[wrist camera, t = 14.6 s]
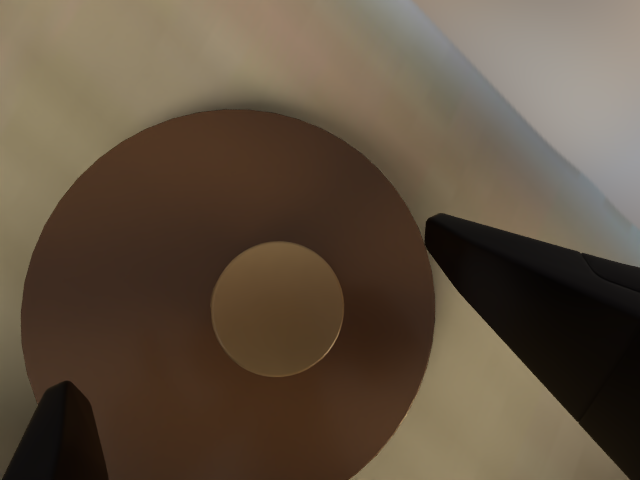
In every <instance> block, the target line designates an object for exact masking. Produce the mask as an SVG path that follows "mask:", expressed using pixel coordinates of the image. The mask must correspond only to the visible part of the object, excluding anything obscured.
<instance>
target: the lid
mask: <svg viewBox="0 0 640 480" xmlns="http://www.w3.org/2000/svg"><path fill="white" fill-rule="evenodd" d="M434 323H435V294H434V286H433V278H432V271H431V267H430V263H429V259H428V255H427V251H426V247H425V245H424V242H423V239H422V237H421V234H420V231H419V229H418V226H417V224H416V222H415V221H414V219H413V217H412V215H411V213H410V211H409V209H408V207H407V205H406V204H405V202H404V201H403V199H402V198H401V196H400V195H399V194H398V192H397V191H396V189H395V188H394V186H393V185H392V184H391V183H390V182H389V181H388V179H387V178H386V177H385V176H384V175H383V174H382V172H381V171H380V170H379V169H378V168H377V167H376V166H375V165H373V164H372V163H371V162H370V161H369V160H368V159H367V158H366V157H365V156H364V155H362V154H361V153H360V152H359V151H357V150H356V149H354V148H353V147H352V146H350V145H349V144H347V143H346V142H345V141H343V140H342V139H340V138H338V137H336V136H334V135H332V134H331V133H329V132H327V131H325V130H323V129H321V128H319V127H317V126H314V125H311V124H309V123H306V122H304V121H301V120H299V119H295V118H291V117H288V116H284V115H280V114H276V113H270V112H263V111H255V110H227V109H224V110H215V111H206V112H198V113H194V114H190V115H186V116H181V117H177V118H173V119H170V120H168V121H165V122H162V123H160V124H157V125H155V126H152V127H149V128H147V129H145V130H143V131H141V132H139V133H137V134H136V135H134V136H132V137H130V138H128V139H126V140H124V141H123V142H121V143H120V144H118V145H117V146H116V147H114V148H113V149H111V150H110V151H109V152H107V153H106V154H104V155H103V156H102V157H100V158H99V159H98V160H97V161H96V162H95V163H94V164H93V165H91V166H90V167H89V168H88V169H87V170H86V171H85V172H84V173H83V174H82V175H81V176H80V177H79V178H78V179H77V180H76V181H75V183H74V184H73V185H72V186H71V187H70V189H69V190H68V191H67V192H66V194H65V195H64V196H63V197H62V199H61V200H60V201H59V203H58V204H57V206H56V208H55V209H54V211H53V213H52V214H51V216H50V218H49V219H48V221H47V222H46V224H45V226H44V228H43V230H42V233H41V235H40V237H39V240H38V242H37V244H36V247H35V249H34V251H33V254H32V257H31V261H30V265H29V268H28V272H27V276H26V279H25V283H24V291H23V300H22V308H21V336H22V348H23V354H24V359H25V365H26V370H27V375H28V378H29V381H30V384H31V387H32V389H33V392H34V395H35V398H36V401H37V404H39V402H40V400H41V398H42V396H43V394H44V392H45V391H46V390H47V389H48V388H49V387H52V386H54V385H56V384H58V383H60V382H63V381H66V380H68V381H71V382H72V383H73V384H74V385H75V386H76V387H77V388H78V389H79V390H80V391H81V392H82V393H83V394H84V395H85V397H86V398H87V399H88V400H89V402H90V404H91V406H92V410H93V414H94V418H95V422H96V426H97V430H98V434H99V438H100V442H101V446H102V450H103V454H104V459H105V463H106V467H107V472H108V477H109V480H349V479H350V478H351V477H353V476H354V475H356V474H357V473H358V472H359V471H360V470H361V469H362V468H363V467H364V466H366V465H367V464H368V463H369V462H370V461H371V460H372V459H373V458H374V457H375V456H376V455H377V454H378V453H379V452H380V450H381V449H382V448H383V447H384V446H385V444H386V443H387V442H388V441H389V440H390V438H391V437H392V436H393V435H394V433H395V432H396V430H397V429H398V427H399V426H400V424H401V423H402V421H403V419H404V418H405V416H406V415H407V413H408V411H409V409H410V407H411V405H412V403H413V401H414V399H415V397H416V395H417V393H418V391H419V388H420V385H421V383H422V380H423V377H424V374H425V371H426V368H427V365H428V360H429V356H430V351H431V347H432V342H433V333H434Z"/></svg>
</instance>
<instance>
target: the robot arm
mask: <svg viewBox="0 0 640 480" xmlns="http://www.w3.org/2000/svg"><path fill="white" fill-rule="evenodd" d="M425 246H426V248H427V250H428V251H429V253H430V254H431V255H432V257H433V258H434V260H435V261H436V262H437V264H438V265H439V266H440V268H441V269H442V270H443V272H444V273H445V274H446V276H447V277H448V279H449V280H450V281H451V283H452V284H453V285H454V287H455V288H456V289H457V290H458V292H459V293H460V294H461V295H462V296H463V297H464V299H465V300H466V301H467V302H468V303H469V304H470V305H471V306H472V307H473V308H474V309H475V311H476V312H477V313H478V314H479V315H480V316H481V317H482V318H483V319H484V320H485V321H486V323H487V324H488V325H489V326H490V327H491V328H492V329H493V330H494V331H495V332H496V333H497V335H498V336H499V337H500V338H501V339H502V340H503V341H504V342H505V343H506V344H507V345H508V347H509V348H510V349H511V350H512V351H513V352H514V353H515V354H516V355H517V356H518V358H519V359H520V360H521V361H522V362H523V363H524V364H525V365H526V366H527V367H528V368H529V370H530V371H531V372H532V373H533V374H534V375H535V376H536V377H537V378H538V379H539V380H540V382H541V383H542V384H543V385H544V386H545V387H546V388H547V389H548V390H549V391H550V392H551V394H552V395H553V396H554V397H555V398H556V399H557V400H558V401H559V402H560V403H561V404H562V406H563V407H564V408H565V409H566V410H567V411H568V412H569V413H570V414H571V415H572V416H573V418H574V419H575V420H576V421H577V422H579V424H580V426H581V427H582V428H583V429H584V430H585V431H586V432H587V433H588V434H589V435H590V436H591V438H592V439H593V440H594V441H595V442H596V443H597V444H598V445H599V446H600V447H601V448H602V450H603V451H604V452H605V453H606V454H607V455H608V456H609V457H610V458H611V459H612V460H613V462H614V463H615V464H616V465H617V466H618V467H619V468H620V469H621V470H622V471H623V472H624V474H625V475H626V476H627V477H628V478H629V479H630V480H640V268H639V267H635V266H631V265H626V264H622V263H618V262H615V261H611V260H607V259H603V258H599V257H596V256H592V255H589V254H585V253H580V252H578V251H574V250H571V249H567V248H564V247H560V246H557V245H553V244H550V243H546V242H543V241H539V240H535V239H532V238H528V237H525V236H521V235H518V234H514V233H511V232H507V231H504V230H500V229H497V228H493V227H489V226H486V225H482V224H479V223H475V222H472V221H468V220H465V219H461V218H458V217H454V216H451V215H447V214H443V213H439V214H437V215H434V216H432V217H430V218H428V219H427V221H426V228H425ZM2 480H109V477H108V472H107V467H106V463H105V459H104V454H103V450H102V446H101V442H100V438H99V434H98V430H97V426H96V422H95V418H94V414H93V410H92V406H91V404H90V402H89V400H88V399H87V398H86V397H85V395H84V394H83V393H82V392H81V391H80V390H79V389H78V388H77V387H76V386H75V385H74V384H73V383H72V382H71V381H68V380H66V381H63V382H60V383H58V384H56V385H54V386H52V387H49V388H48V389H47V390H46V391H45V392H44V394H43V396H42V398H41V400H40V402H39V404H38V406H37V408H36V410H35V412H34V414H33V416H32V418H31V420H30V423H29V425H28V427H27V429H26V431H25V433H24V435H23V437H22V439H21V441H20V443H19V445H18V447H17V449H16V451H15V453H14V456H13V458H12V460H11V462H10V464H9V466H8V468H7V470H6V472H5V474H4V476H3V478H2Z"/></svg>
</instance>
